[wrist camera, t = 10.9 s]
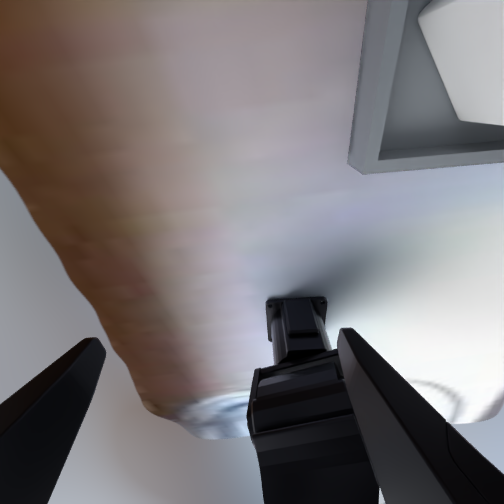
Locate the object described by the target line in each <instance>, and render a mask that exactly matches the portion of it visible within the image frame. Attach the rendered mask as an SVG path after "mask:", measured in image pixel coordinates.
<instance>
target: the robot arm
mask: <svg viewBox="0 0 504 504" xmlns="http://www.w3.org/2000/svg"><path fill="white" fill-rule="evenodd" d="M321 301H323V302H321ZM326 311H327V299H326V298H325V297H310V298H295V299H280V300H268V301H267V302H266V316H267V330H268V340H269V341H270V342H272V345H273V356H274V365H273V366H269V367H265V368H257V369H255V371H254V376H253V381H252V387H251V392H250V398H249V404H248V410H247V421H248V422H247V426H248V429H249V433H250V437H251V440H252V443H253V445H254V447H255V449H256V452H257V456H258V461H259V466H260V473H261V481H262V490H263V498H264V504H379V488H381V491H382V494H383V497H384V500H385V503H386V504H504V474H503V473H502V472H501V471H500V470H498V469H497V468H496V467H495V466H494V465H493V464H492V463H491V462H489V461H488V460H487V459H486V458H485V457H484V456H483V455H482V454H481V453H479V451H478V450H477V449H475V448H474V447H473V446H472V445H471V444H470V443H469V442H468V441H467V440H466V439H465V438H464V437H463V436H462V435H461V434H460V433H459V432H458V431H457V430H456V429H455V428H454V427H453V426H451V424H450V423H449V422H446V420H445V419H444V418H443V417H442V416H441V415H440V414H439V413H438V412H437V411H436V410H435V409H434V408H433V407H432V406H431V405H430V404H429V403H428V402H427V401H426V400H425V399H424V398H423V397H422V396H421V395H420V394H419V393H418V392H417V391H416V390H415V389H414V388H413V387H412V386H411V385H410V384H409V383H408V382H407V381H406V380H405V379H404V378H403V377H402V376H401V375H400V374H399V373H398V372H397V371H396V370H395V369H394V368H393V367H392V366H391V365H390V364H389V363H388V362H387V361H386V360H385V359H384V358H383V357H382V356H381V355H380V354H379V353H378V352H376V351H375V350H374V349H373V348H372V347H371V346H370V345H369V344H368V343H367V342H366V341H365V340H364V339H363V338H362V337H361V336H360V335H359V334H358V333H357V332H356V331H355V330H354V329H353V328H341V329H340V331H339V336H338V340H337V349H333V350H332V348H331V345H330V342H329V339H328V336H327V332H326V329H325V319H326ZM105 358H106V350H105V348H104V347H103V345H102V344H101V342H100V340H99V339H98V338H96V337H92V338H85V339H83V340H82V341H80V342H79V343H78V344H77V345H75V346H74V347H73V348H71V349H70V350H69V351H68V352H66V353H65V354H64V355H62V356H61V357H60V358H59V359H57V360H56V361H55V362H53V363H52V364H51V365H50V366H48V367H47V368H46V369H45V370H43V371H42V372H41V373H40V374H38V375H37V376H36V377H34V378H33V379H32V380H31V381H29V382H28V383H27V384H26V385H24V386H23V387H22V388H20V389H19V390H18V391H17V392H15V393H14V394H13V395H11V396H10V397H9V398H8V399H6V400H5V401H4V402H2V403H1V404H0V504H47V503H48V501H49V499H50V497H51V494H52V492H53V490H54V487H55V485H56V483H57V480H58V478H59V476H60V473H61V471H62V469H63V466H64V464H65V462H66V459H67V457H68V455H69V452H70V450H71V448H72V445H73V443H74V441H75V438H76V436H77V434H78V431H79V429H80V427H81V424H82V422H83V419H84V417H85V414H86V412H87V410H88V408H89V405H90V403H91V400H92V398H93V395H94V392H95V389H96V386H97V383H98V380H99V376H100V373H101V370H102V367H103V364H104V361H105Z"/></svg>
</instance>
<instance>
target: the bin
mask: <svg viewBox="0 0 504 504" xmlns="http://www.w3.org/2000/svg"><path fill="white" fill-rule="evenodd" d="M431 1H432V0H368V4H367V12H366V20H365V28H364V36H363V44H362V51H361V59H360V67H359V75H358V83H357V91H356V99H355V107H354V114H353V122H352V130H351V138H350V146H349V154H348V162H347V164H349V165H350V166H351V167H353V168H354V169H356V170H357V171H359V172H360V173H361V174H374V173H386V172H398V171H409V170H421V169H433V168H444V167H456V166H467V165H479V164H491V163H502V162H504V126H503V125H494V124H486V123H477V122H469V121H461V120H460V119H458V117H457V114H456V112H455V110H454V107H453V105H452V102H451V100H450V98H449V95H448V93H447V90H446V88H445V86H444V83H443V81H442V78H441V76H440V74H439V71H438V69H437V66H436V64H435V62H434V59H433V57H432V54H431V52H430V50H429V47H428V45H427V42H426V40H425V38H424V35H423V33H422V30H421V28H420V26H419V23H418V16H419V14H420V12H421V11H422V10H423V9H424V8H425V7H426V6H427V5H428V4H429V3H430V2H431Z"/></svg>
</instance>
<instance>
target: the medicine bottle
mask: <svg viewBox="0 0 504 504" xmlns="http://www.w3.org/2000/svg"><path fill="white" fill-rule="evenodd" d="M418 23H419V26H420V28H421V30H422V33H423V35H424V38H425V40H426V42H427V45H428V47H429V50H430V52H431V54H432V57H433V59H434V62H435V64H436V66H437V69H438V71H439V74H440V76H441V78H442V81H443V83H444V86H445V88H446V90H447V93H448V95H449V98H450V100H451V102H452V105H453V107H454V110H455V112H456V114H457V117H458V119H460V120H461V121H469V122H477V123H486V124H494V125H503V126H504V0H432V1H431V2H430V3H429V4H428V5H427V6H426V7H425V8H424V9H423V10H422V11H421V12H420V14H419V16H418Z"/></svg>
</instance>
